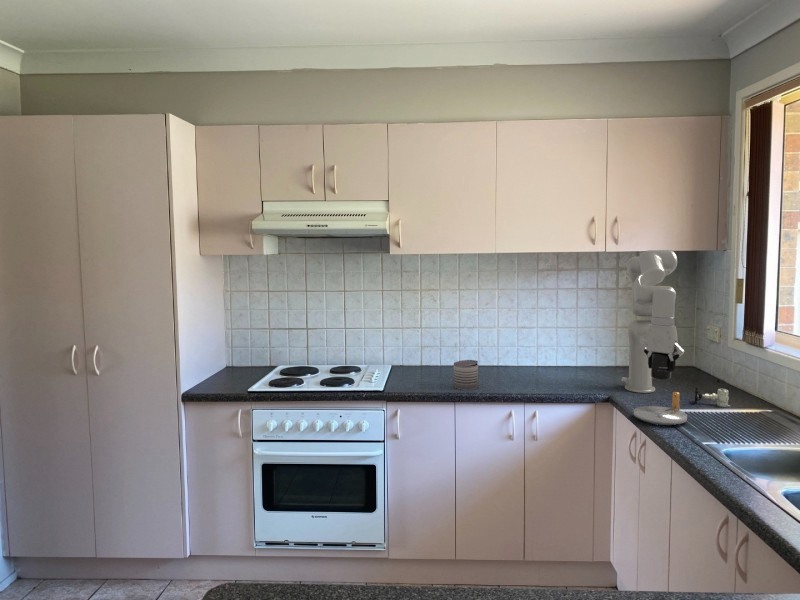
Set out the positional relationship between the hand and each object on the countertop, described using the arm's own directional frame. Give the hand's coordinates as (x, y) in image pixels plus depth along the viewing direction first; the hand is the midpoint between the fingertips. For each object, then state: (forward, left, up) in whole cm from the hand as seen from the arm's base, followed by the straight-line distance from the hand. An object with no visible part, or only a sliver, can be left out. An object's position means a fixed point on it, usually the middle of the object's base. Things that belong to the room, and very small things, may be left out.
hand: (661, 369), depth 207 cm
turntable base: (0, 0, -19) cm, 19 cm away
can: (-82, -21, -20) cm, 87 cm away
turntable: (0, +2, -18) cm, 18 cm away
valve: (+3, +35, -20) cm, 40 cm away
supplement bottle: (0, 0, -3) cm, 3 cm away
